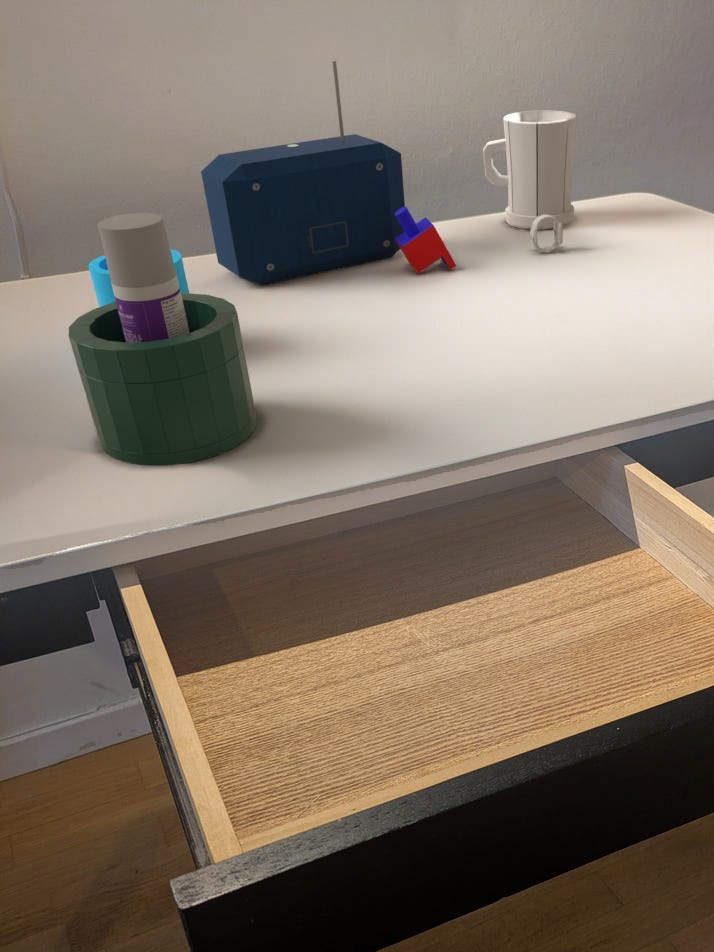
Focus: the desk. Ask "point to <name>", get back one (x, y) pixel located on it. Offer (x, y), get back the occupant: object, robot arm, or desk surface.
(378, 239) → the radio
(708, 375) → the desk surface
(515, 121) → the cup
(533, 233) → the grey ring
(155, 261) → the container
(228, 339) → the jar
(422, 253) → the toy building block
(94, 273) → the mug
